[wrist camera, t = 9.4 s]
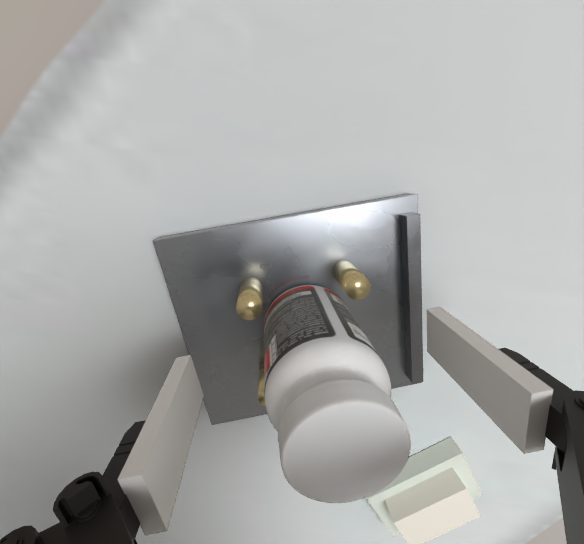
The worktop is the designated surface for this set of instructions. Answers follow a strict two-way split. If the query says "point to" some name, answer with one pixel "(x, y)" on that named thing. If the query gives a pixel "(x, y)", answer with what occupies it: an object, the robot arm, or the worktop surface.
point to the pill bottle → (329, 399)
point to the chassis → (288, 274)
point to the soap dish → (422, 472)
